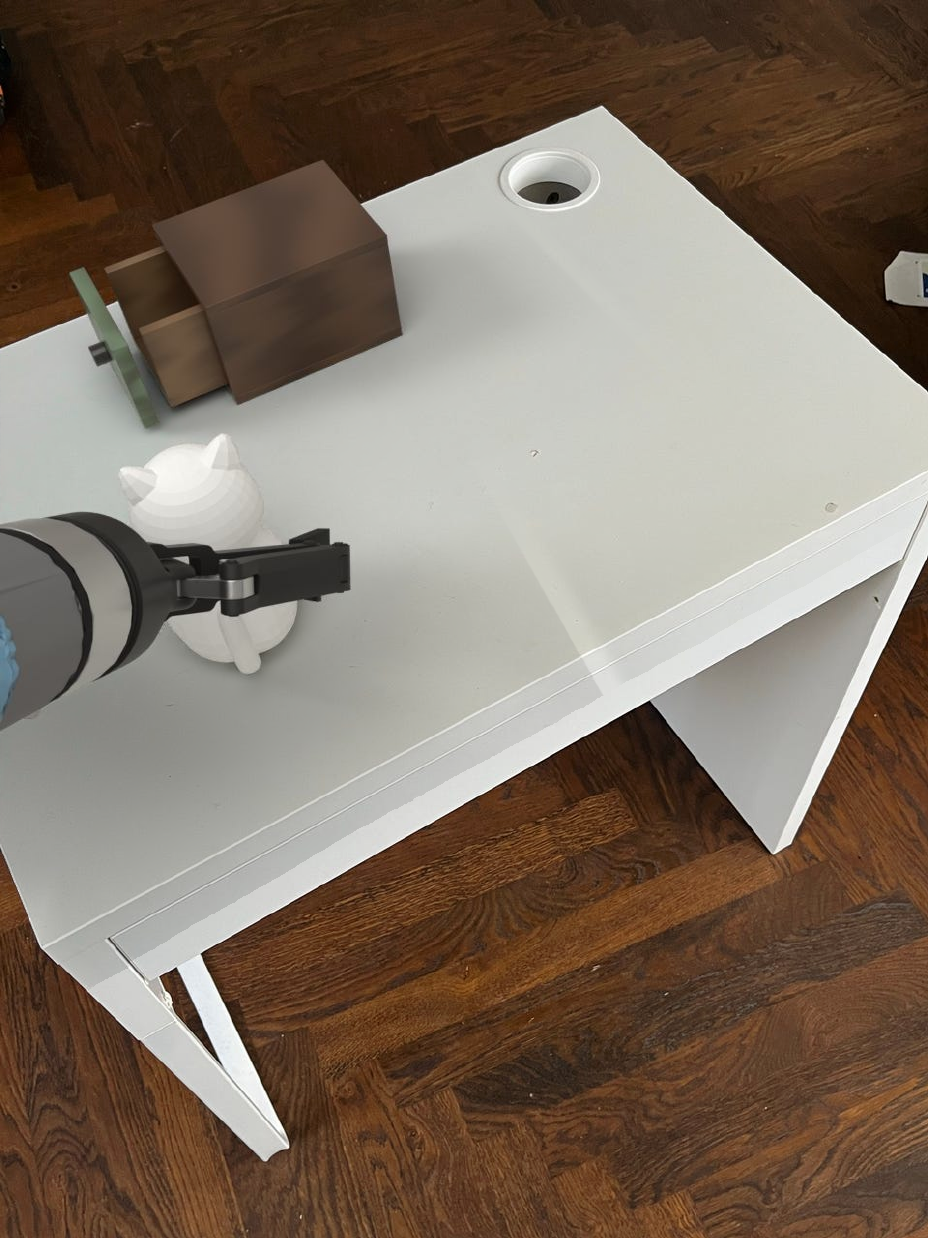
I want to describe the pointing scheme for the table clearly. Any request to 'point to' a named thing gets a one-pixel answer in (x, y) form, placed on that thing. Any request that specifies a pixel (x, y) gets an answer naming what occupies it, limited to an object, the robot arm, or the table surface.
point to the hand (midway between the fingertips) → (216, 548)
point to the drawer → (153, 331)
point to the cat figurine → (208, 538)
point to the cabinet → (286, 277)
